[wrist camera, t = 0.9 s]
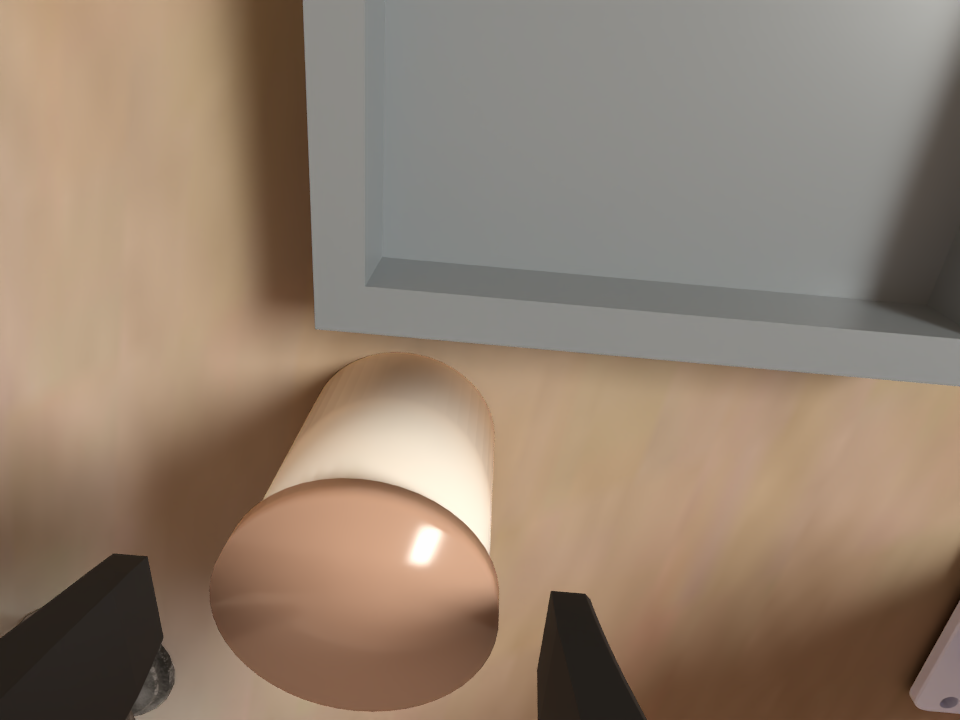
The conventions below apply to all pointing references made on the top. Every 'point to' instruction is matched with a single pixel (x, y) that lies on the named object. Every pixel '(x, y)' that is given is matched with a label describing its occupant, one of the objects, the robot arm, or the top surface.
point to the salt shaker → (152, 684)
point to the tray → (643, 178)
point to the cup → (371, 544)
